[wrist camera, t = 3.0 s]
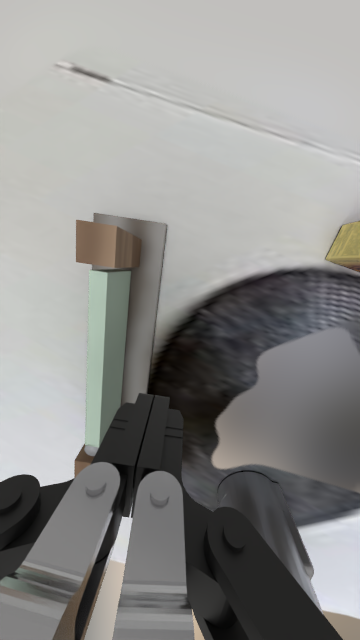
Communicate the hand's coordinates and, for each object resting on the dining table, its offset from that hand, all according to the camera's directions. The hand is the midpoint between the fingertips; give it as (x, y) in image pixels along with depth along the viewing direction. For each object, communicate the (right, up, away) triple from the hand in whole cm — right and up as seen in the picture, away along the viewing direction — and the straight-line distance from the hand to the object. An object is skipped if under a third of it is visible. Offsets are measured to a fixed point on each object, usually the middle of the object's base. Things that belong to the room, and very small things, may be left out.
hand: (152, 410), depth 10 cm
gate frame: (-6, +2, +17) cm, 18 cm away
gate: (-6, +1, +16) cm, 17 cm away
